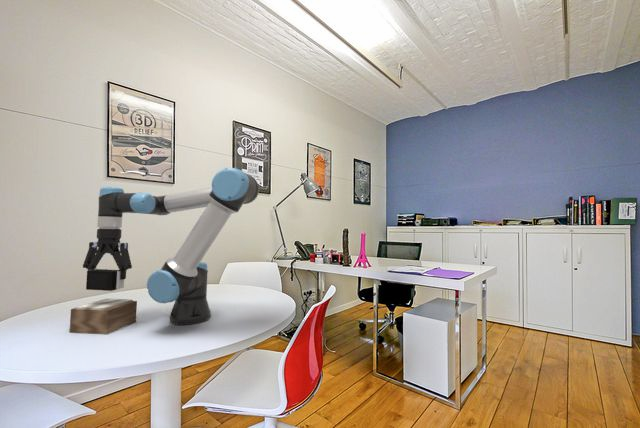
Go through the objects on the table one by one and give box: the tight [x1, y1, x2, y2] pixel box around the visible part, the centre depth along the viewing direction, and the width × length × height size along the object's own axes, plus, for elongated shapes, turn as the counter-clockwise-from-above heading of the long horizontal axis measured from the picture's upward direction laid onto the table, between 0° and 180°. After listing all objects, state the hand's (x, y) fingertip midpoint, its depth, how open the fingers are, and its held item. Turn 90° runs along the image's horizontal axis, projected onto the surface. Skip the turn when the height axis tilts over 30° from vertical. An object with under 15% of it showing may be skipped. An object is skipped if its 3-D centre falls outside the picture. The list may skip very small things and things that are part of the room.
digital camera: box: [85, 268, 119, 292], centre depth 109 cm, size 10×5×7 cm, turn 82°
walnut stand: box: [69, 298, 138, 335], centre depth 109 cm, size 14×14×9 cm
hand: (106, 287), depth 109 cm, fingers closed on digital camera, 10 cm apart
